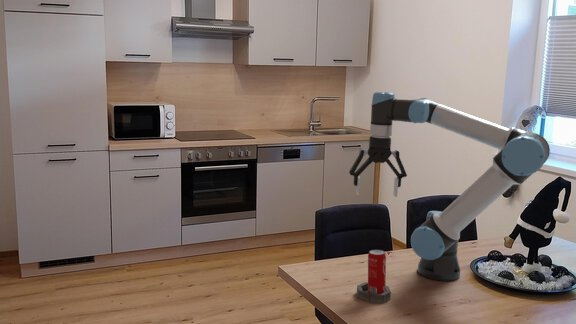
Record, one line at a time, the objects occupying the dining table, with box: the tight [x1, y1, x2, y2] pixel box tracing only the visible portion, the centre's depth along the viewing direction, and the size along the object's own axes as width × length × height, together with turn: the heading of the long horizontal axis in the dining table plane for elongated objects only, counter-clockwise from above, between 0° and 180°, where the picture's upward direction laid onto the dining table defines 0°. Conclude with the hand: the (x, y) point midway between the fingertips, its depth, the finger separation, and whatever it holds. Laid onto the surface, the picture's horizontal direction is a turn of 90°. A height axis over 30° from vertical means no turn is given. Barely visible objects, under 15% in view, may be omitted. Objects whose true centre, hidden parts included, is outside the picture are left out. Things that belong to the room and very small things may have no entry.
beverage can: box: [367, 249, 387, 294], centre depth 183 cm, size 6×6×15 cm
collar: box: [356, 281, 392, 304], centre depth 184 cm, size 10×10×2 cm
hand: (376, 195), depth 201 cm, fingers open, 13 cm apart
